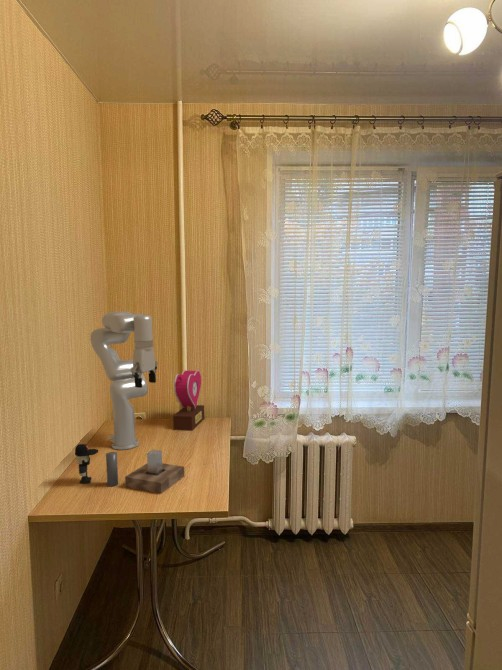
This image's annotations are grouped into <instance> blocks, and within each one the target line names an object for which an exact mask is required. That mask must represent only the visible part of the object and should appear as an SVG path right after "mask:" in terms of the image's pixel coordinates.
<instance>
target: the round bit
mask: <svg viewBox="0 0 502 670" xmlns="http://www.w3.org/2000/svg"><path fill="white" fill-rule="evenodd" d="M105 461H106V462H105V463H106V466H105V467H106V480H107V481H106V483H107V487H115V486H117V485H119V471H118V469H119V467H118V452H116V451H109V452H106V453H105Z"/></svg>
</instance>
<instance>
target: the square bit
mask: <svg viewBox="0 0 502 670" xmlns="http://www.w3.org/2000/svg"><path fill="white" fill-rule="evenodd" d="M146 460H147V462H146V464H148V474H150V475H156V476H158V475H159V474H161V473H162V472H163V469H162V463H163V451H162V450H160V449H154V448H153V449H151V450H150V451H147V452H146Z"/></svg>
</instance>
